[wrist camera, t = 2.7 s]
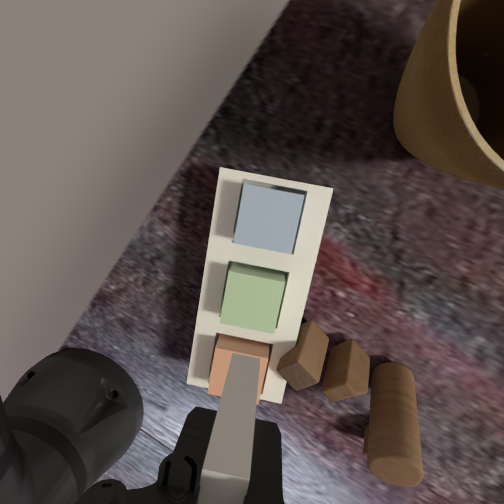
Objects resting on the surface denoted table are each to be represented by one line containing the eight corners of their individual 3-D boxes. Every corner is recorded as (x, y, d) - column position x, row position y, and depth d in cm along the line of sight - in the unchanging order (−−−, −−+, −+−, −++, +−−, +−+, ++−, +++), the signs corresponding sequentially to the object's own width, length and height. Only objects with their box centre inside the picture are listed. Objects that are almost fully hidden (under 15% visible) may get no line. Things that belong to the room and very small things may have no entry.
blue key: (238, 236, 28) (233, 243, 25) (247, 184, 27) (243, 183, 24) (289, 246, 28) (291, 254, 25) (300, 194, 27) (304, 195, 23)
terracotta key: (214, 371, 31) (207, 393, 28) (221, 329, 30) (215, 347, 27) (259, 381, 31) (258, 404, 28) (268, 339, 30) (268, 358, 27)
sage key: (225, 307, 30) (219, 323, 26) (233, 261, 29) (228, 271, 25) (273, 317, 30) (273, 334, 26) (283, 271, 29) (285, 282, 25)
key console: (196, 361, 34) (186, 383, 30) (227, 170, 29) (220, 167, 25) (280, 378, 34) (281, 403, 30) (325, 188, 29) (333, 188, 25)
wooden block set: (284, 325, 35) (252, 396, 27) (342, 293, 30) (324, 368, 22) (381, 429, 36) (379, 528, 28) (451, 414, 31) (475, 529, 23)
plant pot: (556, 97, 26) (980, -39, 10) (430, 226, 29) (612, 269, 14) (435, -19, 25) (709, -370, 9) (317, 127, 28) (374, 50, 12)
